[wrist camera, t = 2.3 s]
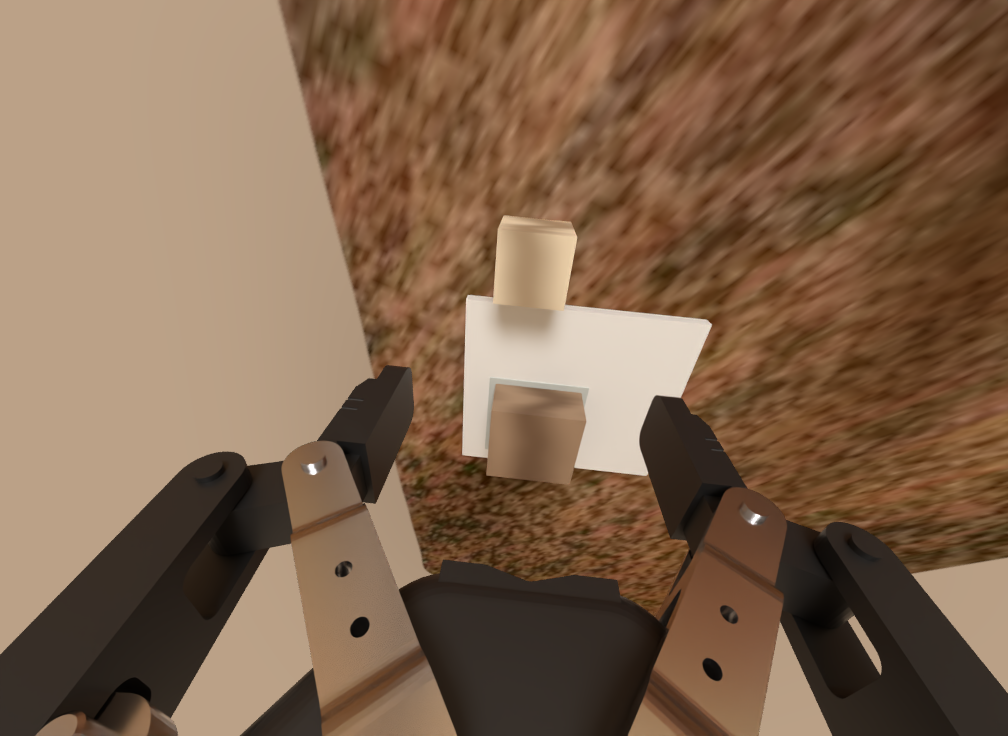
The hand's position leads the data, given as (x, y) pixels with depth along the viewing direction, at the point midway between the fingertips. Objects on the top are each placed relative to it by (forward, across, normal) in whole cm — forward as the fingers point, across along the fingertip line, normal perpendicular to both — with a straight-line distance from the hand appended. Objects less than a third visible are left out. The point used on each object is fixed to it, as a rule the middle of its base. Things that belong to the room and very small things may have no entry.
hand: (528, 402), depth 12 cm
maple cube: (+19, 0, 0) cm, 19 cm away
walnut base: (+18, -2, +16) cm, 24 cm away
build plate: (+19, -5, +13) cm, 24 cm away
